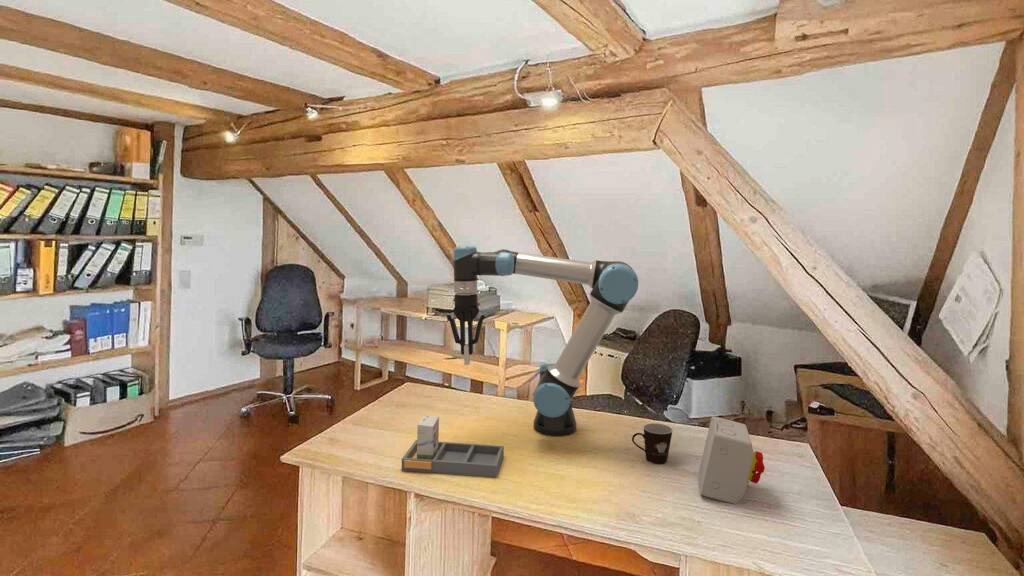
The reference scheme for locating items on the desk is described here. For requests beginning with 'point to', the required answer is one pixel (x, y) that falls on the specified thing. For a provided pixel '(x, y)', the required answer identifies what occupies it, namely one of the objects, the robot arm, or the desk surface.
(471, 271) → the robot arm
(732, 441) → the electrical switch box
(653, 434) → the coffee mug
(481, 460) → the tray
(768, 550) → the desk surface
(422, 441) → the ink box
